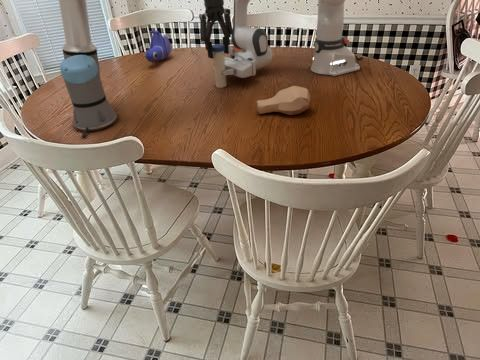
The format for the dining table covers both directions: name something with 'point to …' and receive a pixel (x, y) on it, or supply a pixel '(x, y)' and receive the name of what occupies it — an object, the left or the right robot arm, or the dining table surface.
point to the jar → (219, 69)
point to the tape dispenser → (235, 50)
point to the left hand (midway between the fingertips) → (218, 55)
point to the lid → (218, 47)
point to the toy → (158, 48)
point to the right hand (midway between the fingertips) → (218, 71)
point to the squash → (286, 101)
